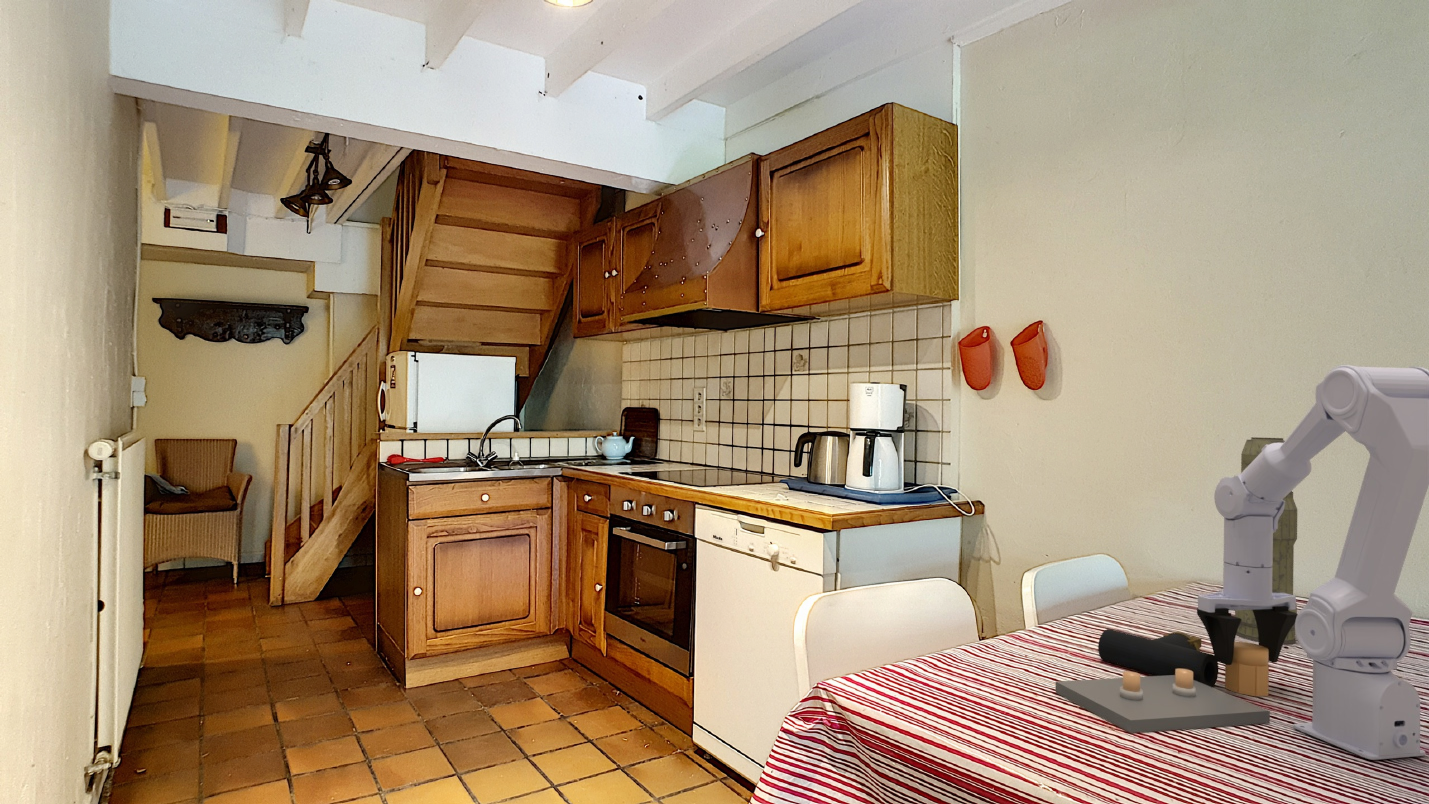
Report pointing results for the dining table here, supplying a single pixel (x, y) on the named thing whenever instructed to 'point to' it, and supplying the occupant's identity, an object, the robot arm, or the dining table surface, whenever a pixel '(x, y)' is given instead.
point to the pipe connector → (1159, 654)
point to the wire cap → (1248, 670)
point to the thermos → (1281, 547)
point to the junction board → (1160, 702)
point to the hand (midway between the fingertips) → (1246, 661)
